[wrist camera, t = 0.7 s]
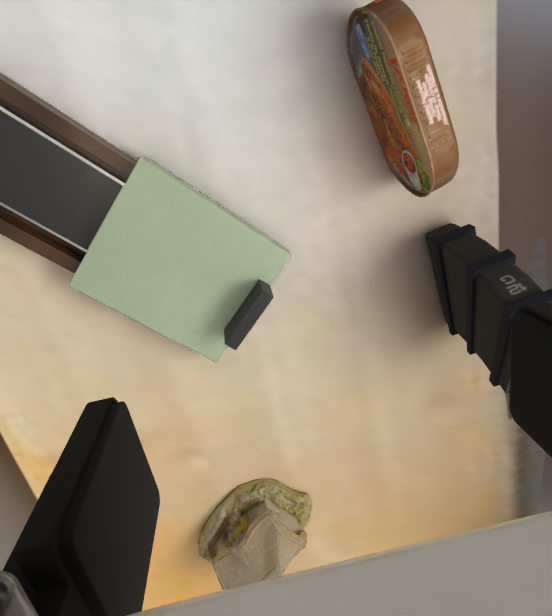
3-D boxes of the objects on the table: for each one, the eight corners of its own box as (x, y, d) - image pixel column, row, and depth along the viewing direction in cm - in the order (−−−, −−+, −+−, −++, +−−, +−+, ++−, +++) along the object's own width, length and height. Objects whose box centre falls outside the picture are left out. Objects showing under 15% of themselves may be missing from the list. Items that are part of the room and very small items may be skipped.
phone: (-74, 160, 36) (-81, 161, 35) (-39, 78, 34) (-46, 77, 33) (91, 252, 40) (88, 254, 39) (129, 183, 38) (127, 185, 38)
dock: (-91, 172, 37) (-110, 175, 35) (-39, 47, 34) (-57, 42, 32) (221, 340, 46) (221, 351, 44) (281, 253, 43) (284, 260, 41)
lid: (74, 278, 40) (56, 298, 36) (143, 155, 37) (133, 159, 33) (216, 354, 45) (216, 379, 41) (289, 250, 42) (297, 265, 37)
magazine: (458, 191, 41) (570, 306, 32) (452, 282, 51) (536, 391, 42) (420, 207, 41) (520, 326, 32) (422, 294, 51) (499, 406, 42)
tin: (335, 23, 36) (368, -3, 29) (370, 4, 36) (412, -28, 28) (396, 191, 42) (436, 207, 35) (427, 176, 42) (474, 188, 34)
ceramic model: (265, 461, 53) (276, 533, 44) (325, 507, 57) (346, 581, 48) (184, 529, 56) (177, 610, 46) (247, 568, 60) (252, 649, 50)
